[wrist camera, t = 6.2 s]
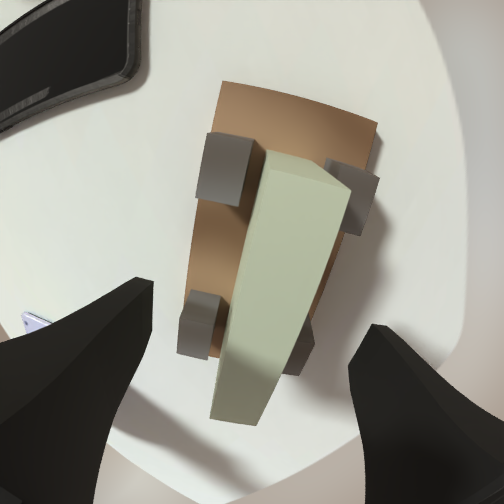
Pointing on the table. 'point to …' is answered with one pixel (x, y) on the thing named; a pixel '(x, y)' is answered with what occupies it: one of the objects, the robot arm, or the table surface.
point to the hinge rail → (244, 191)
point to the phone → (66, 54)
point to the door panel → (275, 281)
